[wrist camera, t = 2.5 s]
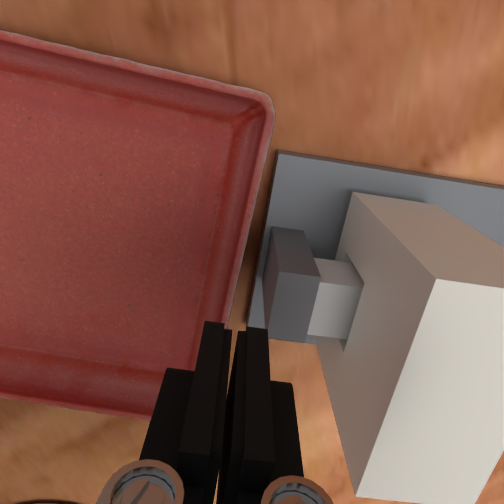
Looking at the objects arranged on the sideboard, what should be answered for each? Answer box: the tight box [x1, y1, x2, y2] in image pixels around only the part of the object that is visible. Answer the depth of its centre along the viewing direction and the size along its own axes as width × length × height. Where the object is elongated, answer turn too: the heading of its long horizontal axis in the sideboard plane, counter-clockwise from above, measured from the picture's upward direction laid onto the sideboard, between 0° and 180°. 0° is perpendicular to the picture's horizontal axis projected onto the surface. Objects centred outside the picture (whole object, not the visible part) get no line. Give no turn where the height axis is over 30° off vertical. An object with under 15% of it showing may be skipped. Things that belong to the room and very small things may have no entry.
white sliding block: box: [315, 192, 504, 504], centre depth 16 cm, size 8×4×9 cm, turn 171°
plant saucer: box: [0, 30, 276, 421], centre depth 20 cm, size 18×18×3 cm
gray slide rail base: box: [246, 150, 504, 344], centre depth 19 cm, size 10×23×6 cm, turn 81°
